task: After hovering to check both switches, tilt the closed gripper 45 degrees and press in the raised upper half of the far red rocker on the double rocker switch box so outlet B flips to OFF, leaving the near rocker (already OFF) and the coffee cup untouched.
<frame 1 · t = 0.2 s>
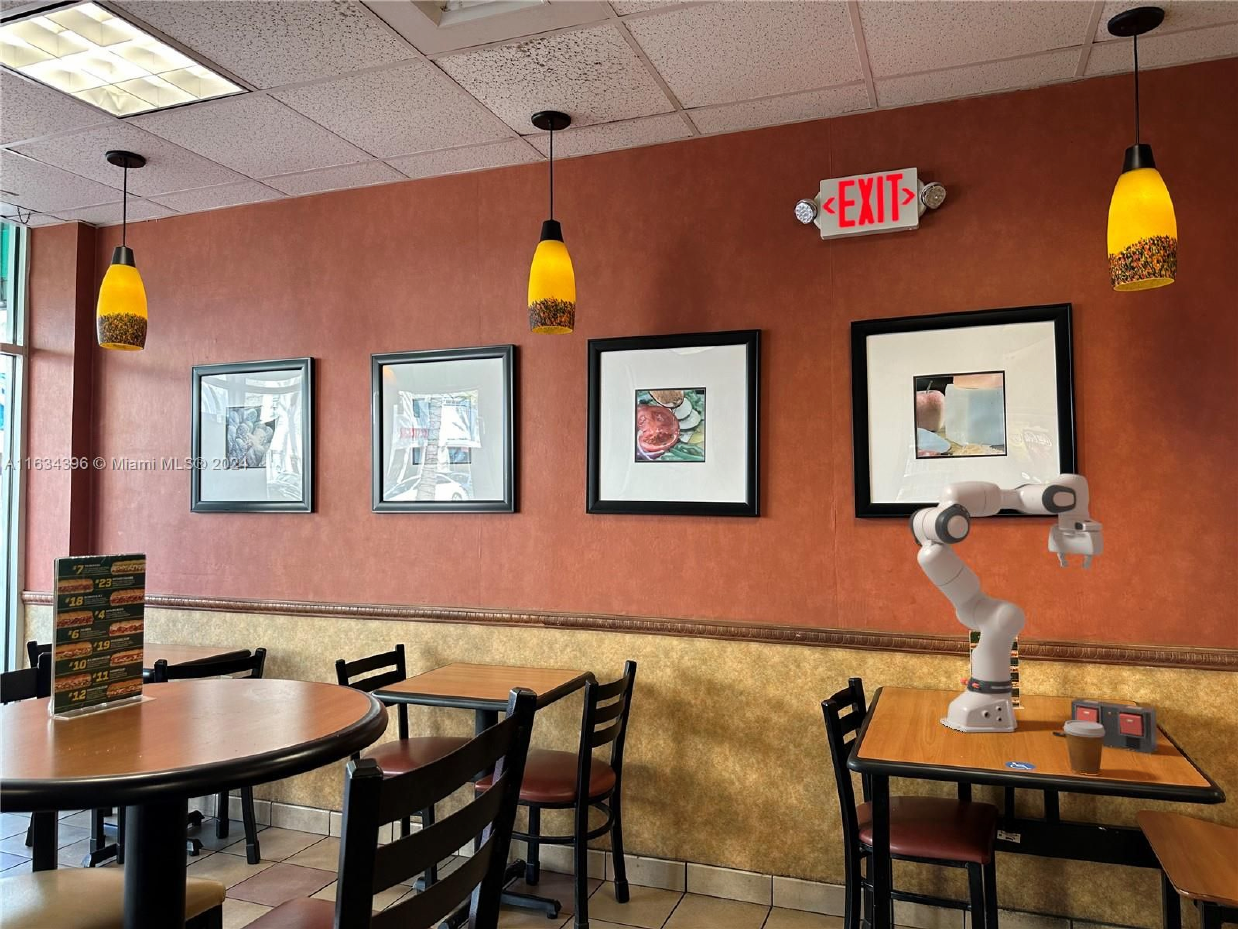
hand: (1075, 568, 278), 47 cm above the table, tool pointing down, fingers open, 8 cm apart
double rocker switch box: (1113, 745, 246), on the table
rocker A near: (1087, 717, 247), point 8 cm above the table, hinge at 14.0°
rocker B far: (1130, 724, 240), point 8 cm above the table, hinge at -14.0°
disposable coffee cup: (1085, 773, 223), on the table
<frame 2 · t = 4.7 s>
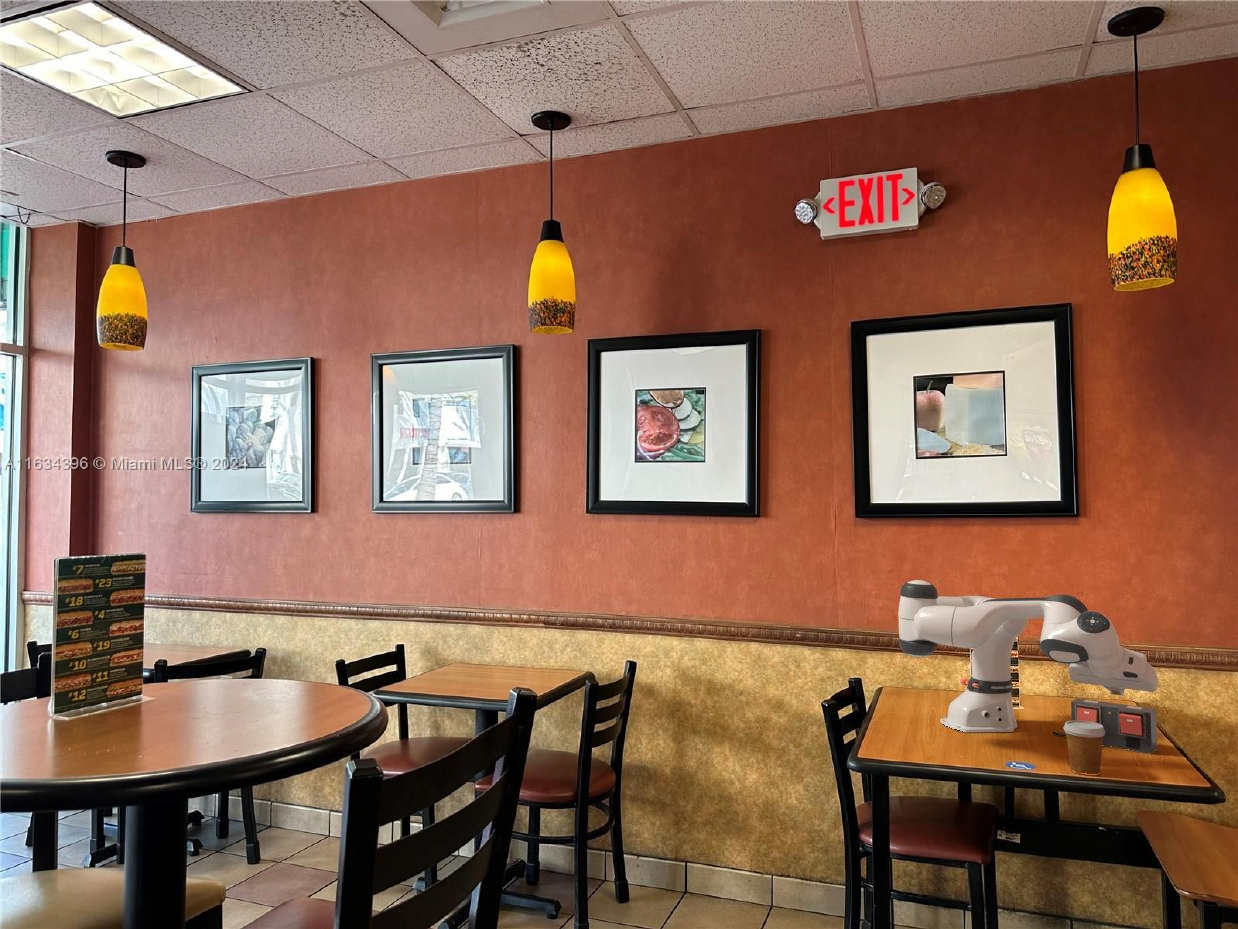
hand: (1117, 692, 231), 18 cm above the table, tool tilted 45°, fingers closed
nothing on the table moved.
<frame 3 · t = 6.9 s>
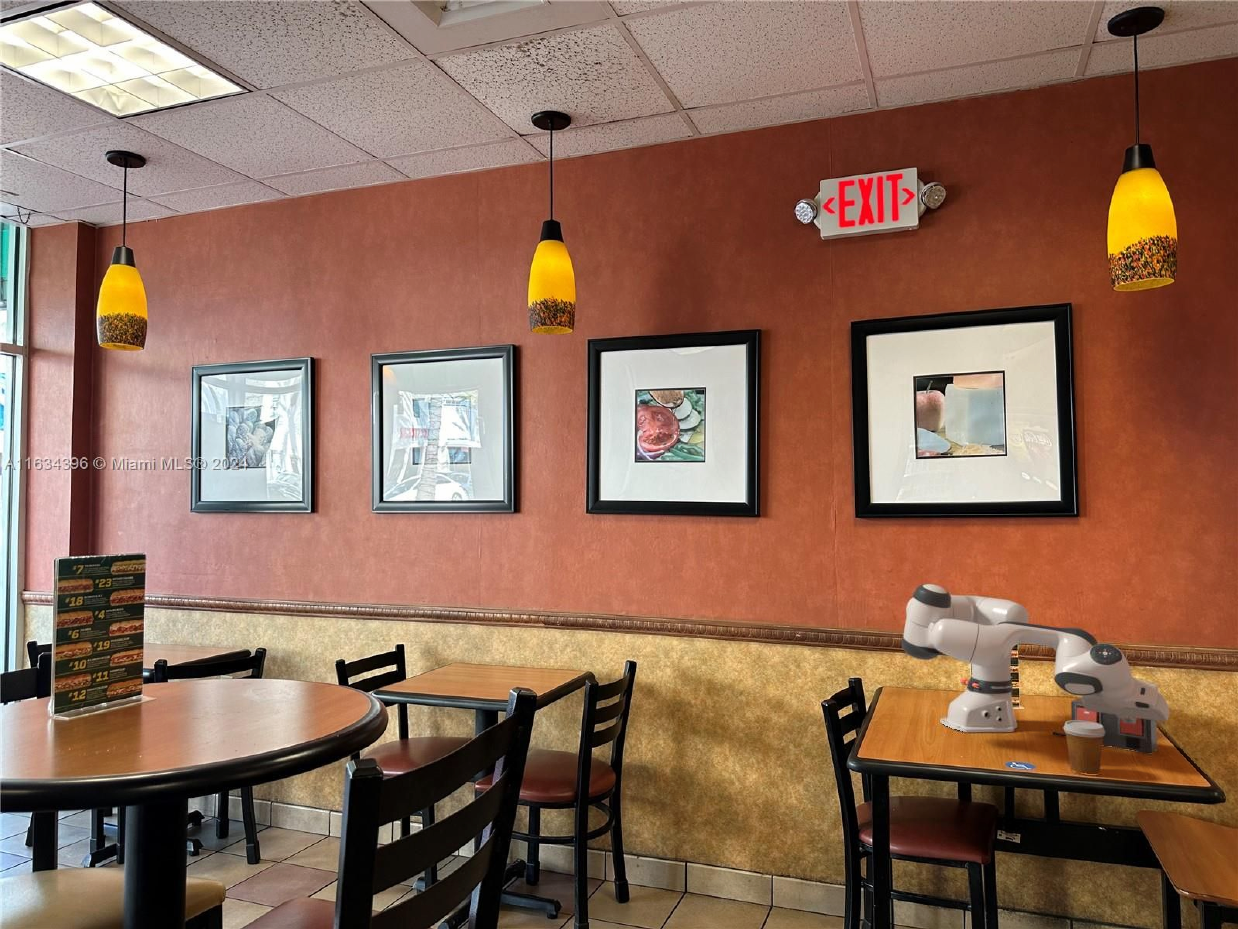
hand: (1130, 721, 239), 9 cm above the table, tool tilted 45°, fingers closed, pressing on rocker B far
rocker B far: (1130, 724, 240), point 8 cm above the table, hinge at -13.5°, touching gripper
everything else where it was.
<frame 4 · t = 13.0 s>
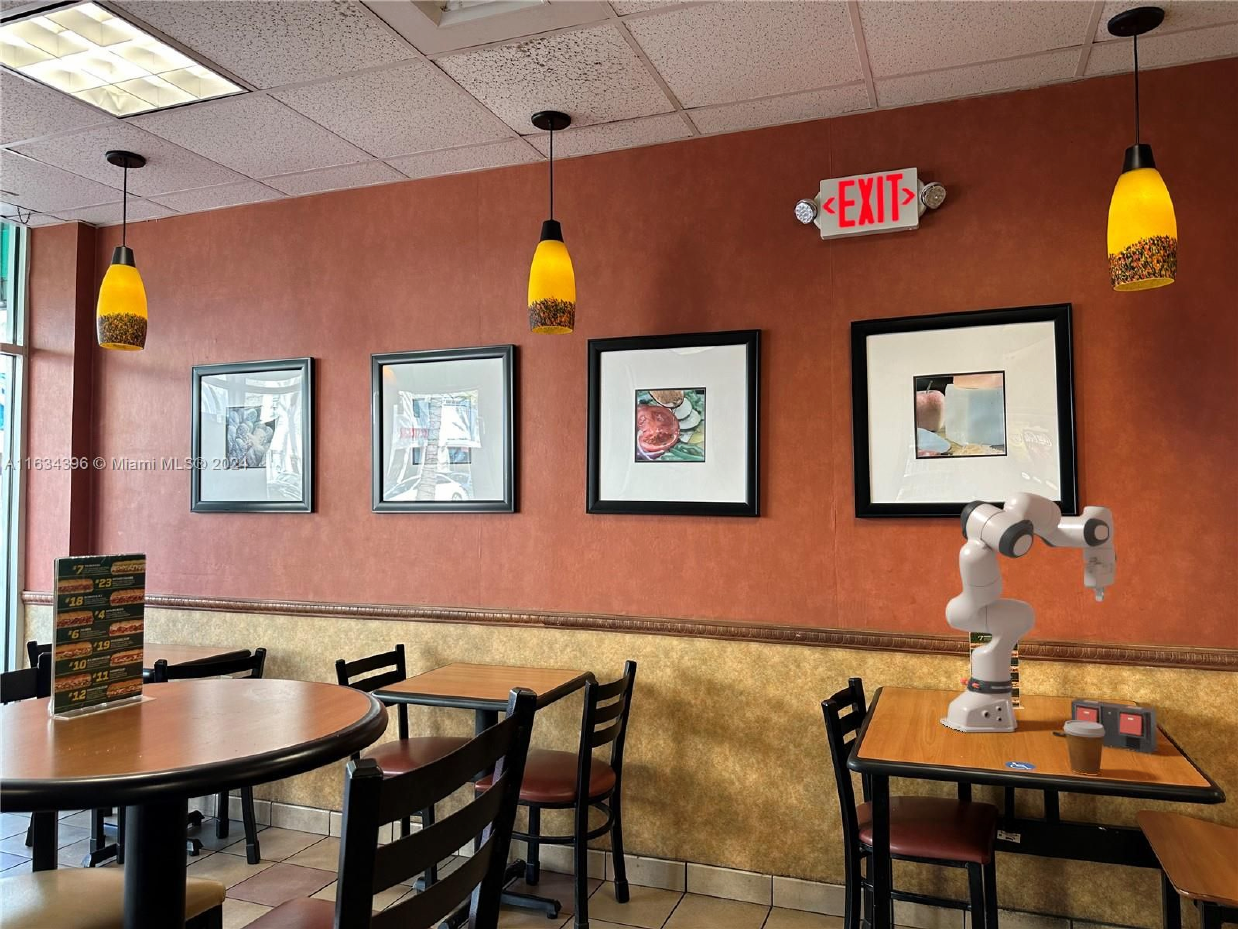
hand: (1100, 600, 277), 37 cm above the table, tool pointing down, fingers closed
rocker B far: (1130, 724, 240), point 8 cm above the table, hinge at 18.2°
everything else where it was.
at the end: rocker B far at +19° (first picture: -14°); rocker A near at +14° (first picture: +14°); disposable coffee cup moved 0.2 cm from its start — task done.
